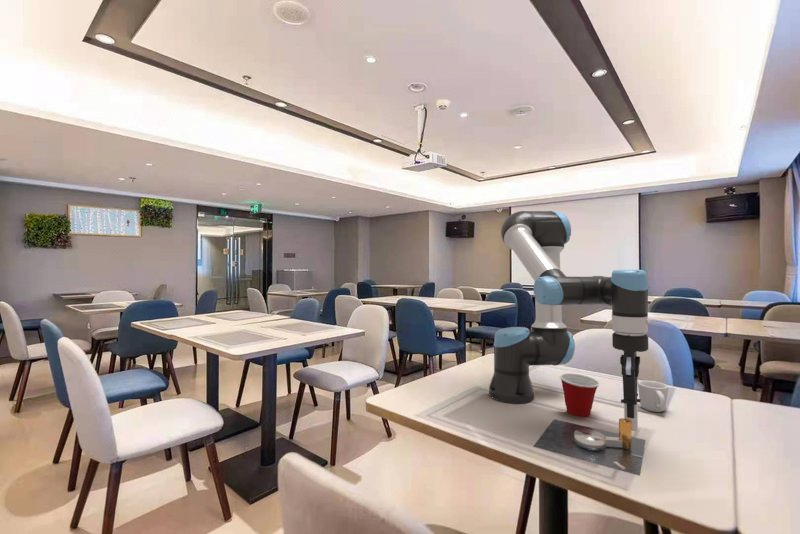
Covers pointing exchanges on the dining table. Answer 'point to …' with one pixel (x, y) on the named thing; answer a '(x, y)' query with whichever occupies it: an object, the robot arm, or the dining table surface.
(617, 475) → the dining table surface
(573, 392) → the plastic cup
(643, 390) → the cup
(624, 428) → the metal measuring spoon
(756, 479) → the dining table surface
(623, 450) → the panel
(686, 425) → the dining table surface
